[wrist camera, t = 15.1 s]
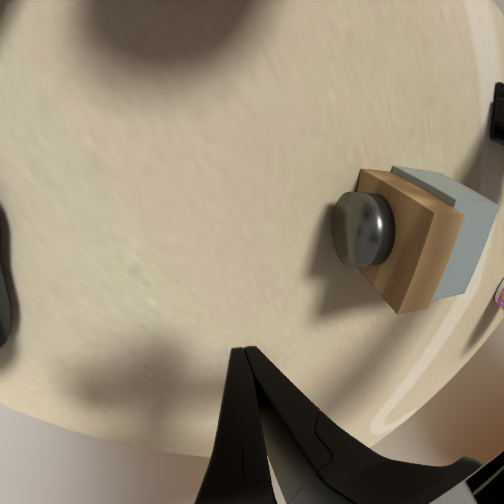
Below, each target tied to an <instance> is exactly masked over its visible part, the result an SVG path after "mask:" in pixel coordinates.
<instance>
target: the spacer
mask: <svg viewBox="0 0 504 504" xmlns="http://www.w3.org/2000/svg"><path fill="white" fill-rule="evenodd" d="M357 192H362V193H376V194H379V195H381V196H382V197H384V198H385V199H386V200H387V202H388V203H389V205H390V207H391V209H392V212H393V215H394V219H395V228H396V233H395V242H394V246H393V249H392V252H391V254H390V255H389V257H388V258H387V260H386V261H385V262H383V263H382V264H380V265H373V266H362V267H358V269H359V270H360V271H361V272H362V273H363V274H364V275H365V277H366V278H367V279H368V280H369V281H370V282H371V284H372V285H373V286H374V287H375V288H376V289H377V291H378V292H379V293H380V294H381V295H382V297H383V298H384V299H385V300H386V301H387V303H388V304H389V305H390V306H391V307H392V309H393V310H394V311H395V312H396V314H402V313H406V312H411V311H415V310H420V309H424V308H428V307H429V305H430V302H431V300H432V298H433V296H434V294H435V291H436V289H437V287H438V285H439V282H440V280H441V278H442V275H443V273H444V270H445V268H446V265H447V263H448V260H449V258H450V255H451V252H452V250H453V247H454V244H455V242H456V239H457V236H458V233H459V230H460V227H461V224H462V221H463V218H464V214H463V213H461V212H460V211H458V210H457V209H455V208H453V207H452V206H450V205H449V204H447V203H445V202H444V201H442V200H440V199H439V198H437V197H435V196H434V195H432V194H430V193H429V192H427V191H425V190H423V189H422V188H420V187H418V186H416V185H415V184H413V183H411V182H409V181H407V180H406V179H404V178H402V177H400V176H398V175H396V174H394V173H392V172H387V171H378V170H369V169H361V172H360V177H359V183H358V188H357Z"/></svg>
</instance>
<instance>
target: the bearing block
mask: <svg viewBox="0 0 504 504" xmlns="http://www.w3.org/2000/svg"><path fill="white" fill-rule="evenodd" d="M392 173H394V174H396V175H398V176H400V177H402V178H404V179H406V180H407V181H409V182H411V183H413V184H415V185H416V186H418V187H420V188H422V189H423V190H425V191H427V192H429V193H430V194H432V195H434V196H435V197H437V198H439V199H440V200H442V201H444V202H445V203H447V204H449V205H450V206H452V207H453V208H455V209H457V210H458V211H460V212H461V213H463V214H464V218H463V221H462V224H461V227H460V230H459V233H458V236H457V239H456V242H455V244H454V247H453V250H452V252H451V255H450V258H449V260H448V263H447V265H446V268H445V270H444V273H443V275H442V278H441V280H440V282H439V285H438V287H437V289H436V291H435V294H434V296H433V298H432V300H431V301H434V300H439V299H443V298H447V297H451V296H455V295H459V294H463V293H465V291H466V288H467V286H468V284H469V282H470V280H471V278H472V275H473V273H474V271H475V268H476V266H477V264H478V261H479V259H480V256H481V254H482V251H483V249H484V246H485V244H486V241H487V238H488V236H489V233H490V230H491V227H492V224H493V221H494V218H495V215H496V212H497V209H498V206H499V205H497V204H496V203H494V202H492V201H491V200H489V199H487V198H486V197H484V196H482V195H480V194H479V193H477V192H475V191H473V190H472V189H470V188H468V187H466V186H464V185H462V184H461V183H459V182H457V181H455V180H453V179H451V178H449V177H447V176H445V175H443V174H441V173H436V172H430V171H424V170H418V169H412V168H405V167H398V166H393V168H392Z"/></svg>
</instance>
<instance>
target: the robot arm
mask: <svg viewBox="0 0 504 504" xmlns="http://www.w3.org/2000/svg"><path fill="white" fill-rule="evenodd" d="M490 138H491V139H492V140H493V141H496V142H498V143H500V144H502V145H504V84H503V83H502V82H498V83H497V88H496V98H495V107H494V114H493V121H492V127H491V133H490ZM266 452H267V453H266ZM267 455H268V458H269V460H270V463H271V466H272V468H273V471H274V473H275V476H276V479H277V481H278V484H279V486H280V489H281V491H282V494H283V496H284V499H285V501H286V503H287V504H504V450H503V451H502V452H501V453H500V454H498V455H497V456H496V457H495V458H493V459H492V460H491V461H489V462H488V463H487V464H486V465H484V466H483V467H482V468H481V469H479V470H478V471H476V470H477V469H478V468H480V467H481V466H482V465H483V463H482V462H481V461H480V460H478V459H476V458H473V457H469V456H463V457H462V458H460V459H459V460H457V461H456V462H454V463H453V464H451V465H448V466H441V467H439V466H428V465H421V464H414V463H408V462H402V461H396V460H391V459H388V458H386V457H383V456H381V455H379V454H377V453H376V452H374V451H373V450H371V449H370V448H368V447H367V446H365V445H364V444H362V443H361V442H360V441H358V440H357V439H355V438H354V437H352V436H351V435H350V434H348V433H347V432H345V431H344V430H343V429H341V428H340V427H339V426H338V425H336V424H335V423H334V422H333V421H332V420H331V419H330V418H328V417H327V416H326V415H325V414H324V413H323V412H322V411H320V409H319V408H318V407H317V406H316V405H315V404H314V403H313V402H311V401H310V400H309V399H308V398H307V397H306V396H305V395H304V394H303V393H302V392H301V391H300V390H299V389H298V388H297V387H296V386H295V385H294V384H293V383H292V382H291V381H290V380H289V379H288V378H287V377H286V376H285V375H284V374H283V373H282V372H281V371H280V370H279V369H278V368H277V367H276V366H275V365H274V364H273V363H272V362H271V361H270V360H269V359H268V358H267V357H266V356H265V355H264V354H263V353H262V352H261V351H260V350H259V349H258V348H257V347H256V346H247V347H244V348H242V347H238V348H232V349H231V352H230V358H229V363H228V369H227V375H226V381H225V386H224V392H223V398H222V403H221V409H220V415H219V421H218V426H217V431H216V437H215V442H214V447H213V451H212V455H211V458H210V461H209V464H208V467H207V470H206V473H205V476H204V479H203V481H202V484H201V487H200V490H199V492H198V495H197V498H196V500H195V503H194V504H277V501H276V499H275V495H274V492H273V487H272V484H271V483H272V481H271V475H270V470H269V465H268V458H267ZM475 471H476V472H475ZM473 472H475V473H474V474H473V475H472V476H470V475H471V474H472V473H473ZM468 476H470V477H469V478H468V479H466V478H467V477H468ZM465 479H466V480H465Z"/></svg>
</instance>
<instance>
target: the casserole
mask: <svg viewBox="0 0 504 504" xmlns="http://www.w3.org/2000/svg"><path fill="white" fill-rule="evenodd" d="M11 323H12V312H11V301H10V298H9V294H8V290H7V286H6V282H5V278H4V274H3V270H2V265H1V236H0V348H1V347H2V346H3V345H4V344H5V343H6V341H7V339H8V336H9V334H10V332H11Z"/></svg>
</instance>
